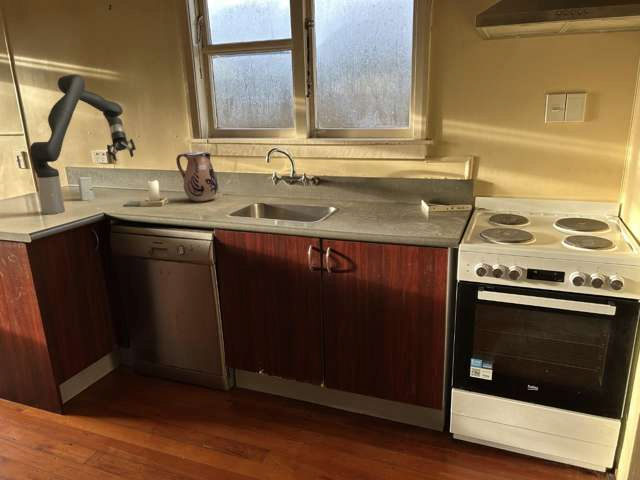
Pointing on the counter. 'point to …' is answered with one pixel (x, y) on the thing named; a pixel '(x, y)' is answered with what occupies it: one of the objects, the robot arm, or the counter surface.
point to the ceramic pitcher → (198, 176)
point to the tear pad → (132, 203)
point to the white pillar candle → (153, 190)
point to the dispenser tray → (156, 203)
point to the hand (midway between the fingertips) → (123, 158)
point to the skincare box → (85, 188)
